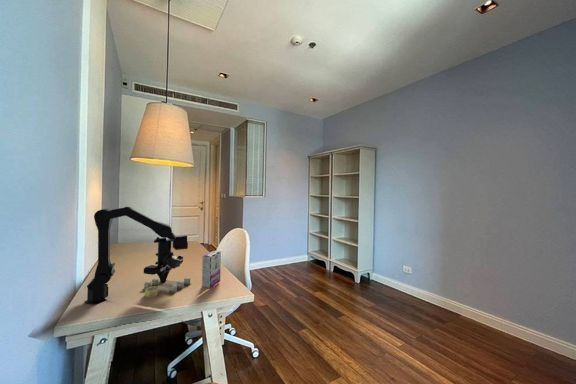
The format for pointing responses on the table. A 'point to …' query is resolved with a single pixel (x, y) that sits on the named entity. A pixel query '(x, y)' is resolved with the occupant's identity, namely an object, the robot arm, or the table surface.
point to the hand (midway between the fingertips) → (163, 283)
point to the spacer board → (168, 285)
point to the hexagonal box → (151, 292)
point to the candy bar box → (211, 269)
